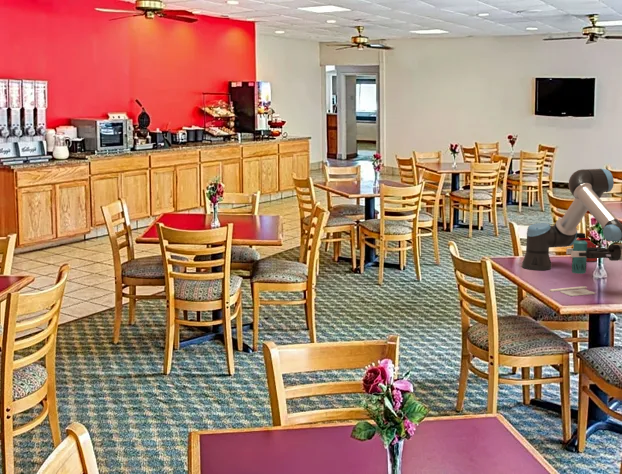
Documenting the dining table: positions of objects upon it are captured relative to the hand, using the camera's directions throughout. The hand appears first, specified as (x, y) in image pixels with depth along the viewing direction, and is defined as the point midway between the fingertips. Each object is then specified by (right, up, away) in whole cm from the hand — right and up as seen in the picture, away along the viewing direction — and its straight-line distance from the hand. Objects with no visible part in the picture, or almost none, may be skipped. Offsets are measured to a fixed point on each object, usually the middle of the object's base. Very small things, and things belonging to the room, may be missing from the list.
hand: (569, 252), depth 367 cm
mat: (+5, -19, +4) cm, 20 cm away
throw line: (+3, -18, +10) cm, 21 cm away
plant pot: (+36, -6, +77) cm, 85 cm away
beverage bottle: (+5, -11, +2) cm, 12 cm away
